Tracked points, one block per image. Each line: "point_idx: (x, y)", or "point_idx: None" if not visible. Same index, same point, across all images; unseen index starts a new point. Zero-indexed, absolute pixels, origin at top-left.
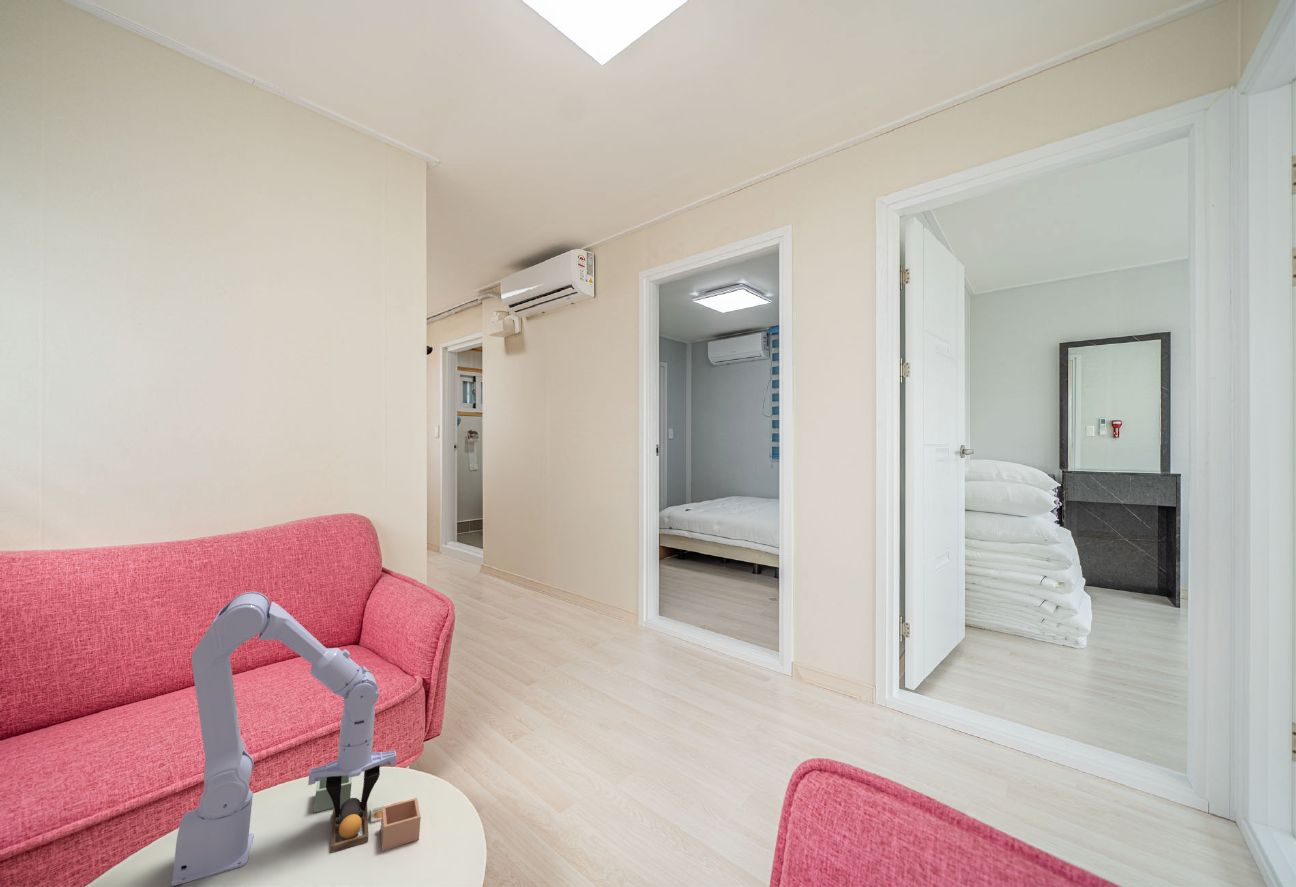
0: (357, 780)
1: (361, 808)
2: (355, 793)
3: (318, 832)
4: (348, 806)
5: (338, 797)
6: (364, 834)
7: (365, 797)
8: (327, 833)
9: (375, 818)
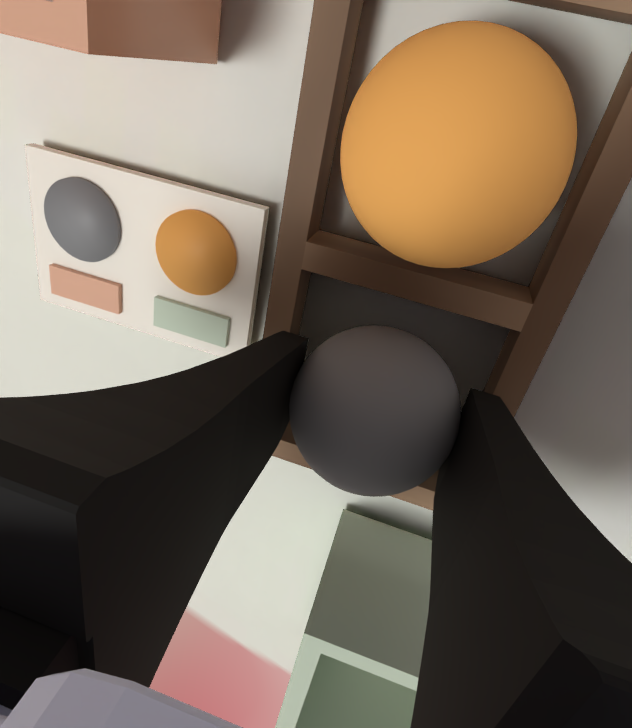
0: (264, 639)
1: (299, 342)
2: (293, 566)
3: (615, 389)
4: (399, 405)
5: (525, 514)
6: (353, 6)
7: (235, 369)
8: (570, 330)
9: (229, 228)
